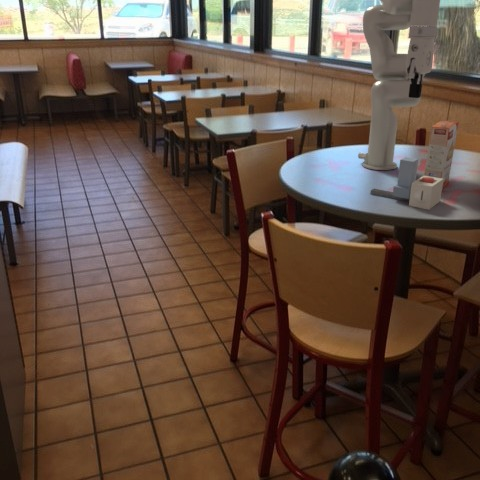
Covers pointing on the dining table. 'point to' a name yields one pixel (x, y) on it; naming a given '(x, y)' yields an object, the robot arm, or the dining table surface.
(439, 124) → the cracker box
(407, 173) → the carriage
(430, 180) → the button
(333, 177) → the dining table surface
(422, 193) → the white button housing
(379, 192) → the rail
